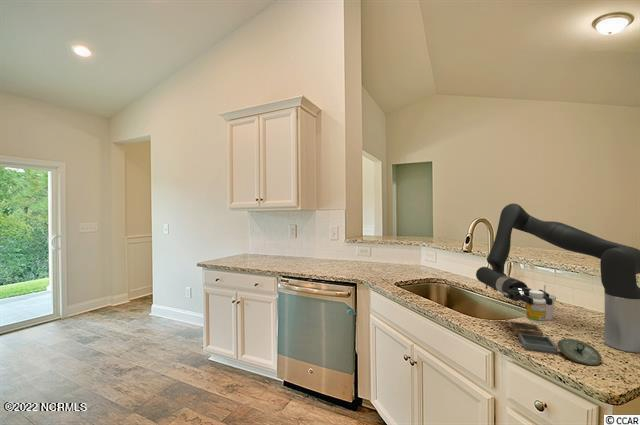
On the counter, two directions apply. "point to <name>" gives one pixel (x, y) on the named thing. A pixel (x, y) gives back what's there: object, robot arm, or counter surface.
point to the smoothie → (549, 306)
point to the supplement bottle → (536, 307)
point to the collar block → (526, 326)
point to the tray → (537, 343)
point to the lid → (579, 351)
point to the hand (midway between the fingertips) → (541, 302)
